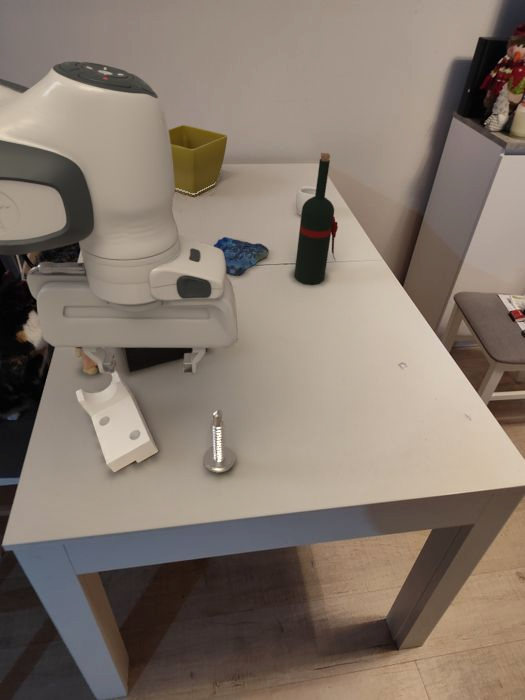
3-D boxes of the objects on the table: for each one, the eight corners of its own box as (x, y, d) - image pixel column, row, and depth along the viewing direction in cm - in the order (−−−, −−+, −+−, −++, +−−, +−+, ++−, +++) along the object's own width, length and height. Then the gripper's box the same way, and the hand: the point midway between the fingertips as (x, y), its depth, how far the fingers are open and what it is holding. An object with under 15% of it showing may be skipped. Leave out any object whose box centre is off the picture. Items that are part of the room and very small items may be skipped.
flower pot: (195, 203, 145) (192, 149, 134) (151, 189, 152) (145, 137, 141) (228, 185, 157) (228, 135, 146) (186, 173, 164) (183, 124, 153)
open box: (129, 372, 84) (124, 345, 80) (112, 326, 95) (106, 299, 90) (207, 351, 90) (205, 325, 85) (182, 309, 100) (180, 284, 96)
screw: (235, 453, 72) (233, 479, 68) (205, 452, 71) (201, 478, 68) (236, 398, 63) (233, 425, 59) (202, 397, 63) (197, 423, 59)
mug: (324, 219, 140) (328, 194, 135) (299, 221, 138) (301, 196, 133) (312, 203, 149) (315, 180, 144) (287, 205, 147) (290, 181, 142)
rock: (273, 252, 122) (273, 246, 120) (237, 280, 111) (237, 273, 110) (229, 238, 128) (229, 232, 126) (191, 263, 117) (190, 256, 115)
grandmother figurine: (101, 377, 83) (86, 324, 75) (79, 379, 82) (62, 325, 74) (106, 351, 89) (93, 298, 80) (86, 352, 88) (71, 299, 80)
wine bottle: (336, 284, 111) (359, 160, 92) (296, 285, 110) (310, 160, 91) (329, 268, 117) (349, 148, 98) (291, 268, 116) (303, 148, 96)
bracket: (96, 417, 77) (75, 391, 71) (134, 397, 79) (116, 370, 73) (116, 475, 69) (94, 451, 63) (158, 451, 70) (140, 426, 65)
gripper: (8, 280, 39) (48, 389, 48) (239, 284, 41) (237, 388, 50) (32, 246, 44) (65, 351, 53) (238, 250, 46) (236, 352, 55)
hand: (149, 369), depth 52 cm, fingers open, 8 cm apart
